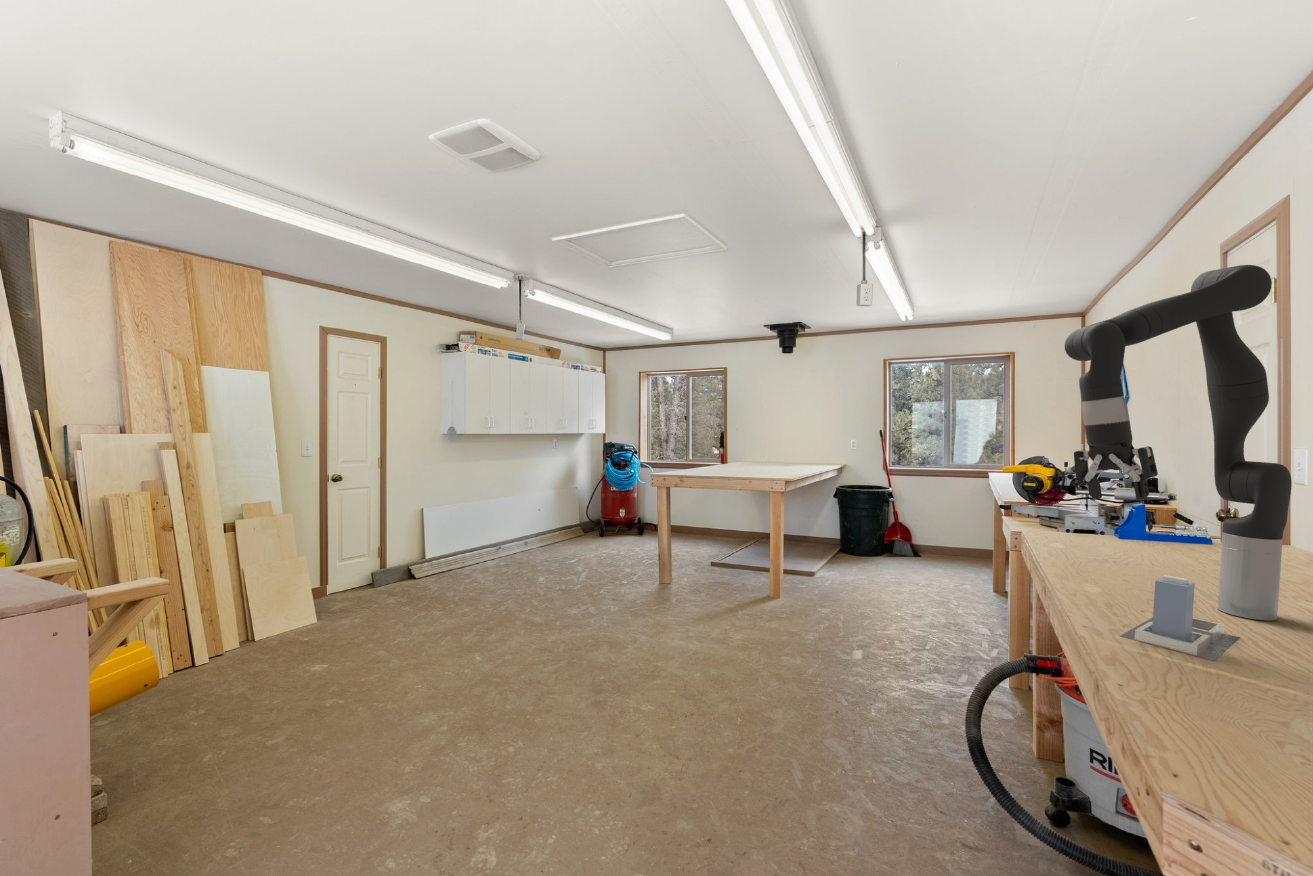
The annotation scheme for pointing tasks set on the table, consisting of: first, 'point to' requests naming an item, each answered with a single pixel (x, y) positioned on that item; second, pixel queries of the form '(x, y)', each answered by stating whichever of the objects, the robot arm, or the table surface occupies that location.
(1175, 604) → the plug
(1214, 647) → the panel
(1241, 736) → the table surface
